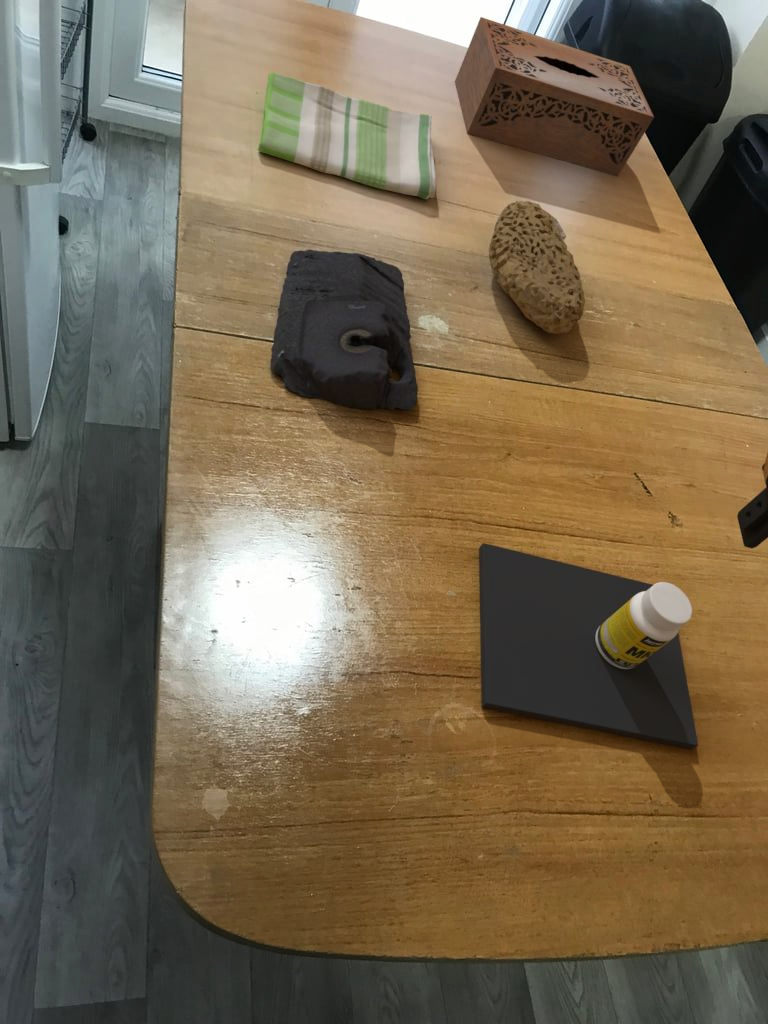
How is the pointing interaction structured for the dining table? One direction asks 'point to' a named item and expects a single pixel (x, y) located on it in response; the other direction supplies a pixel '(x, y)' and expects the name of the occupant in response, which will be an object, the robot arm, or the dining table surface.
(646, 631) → the supplement bottle
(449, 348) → the dining table surface
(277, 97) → the dish towel
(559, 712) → the mat
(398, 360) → the dark slate chunk
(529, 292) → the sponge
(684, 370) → the dining table surface
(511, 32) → the tissue box cover
